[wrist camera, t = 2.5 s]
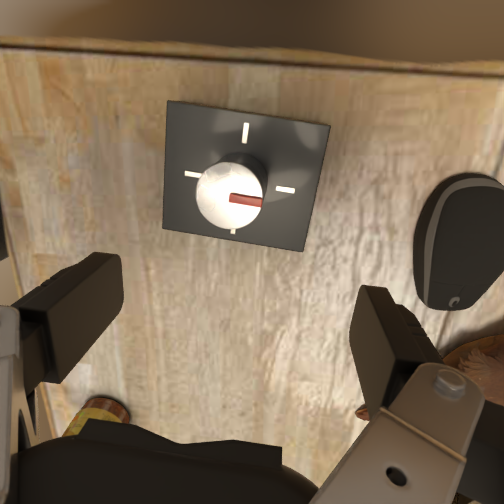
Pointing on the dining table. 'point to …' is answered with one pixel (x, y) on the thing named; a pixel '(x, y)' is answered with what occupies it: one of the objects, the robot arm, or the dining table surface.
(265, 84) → the dining table surface
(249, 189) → the silver dial knob
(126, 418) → the sauce bottle
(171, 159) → the dial base plate
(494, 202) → the computer mouse
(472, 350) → the bird sculpture
